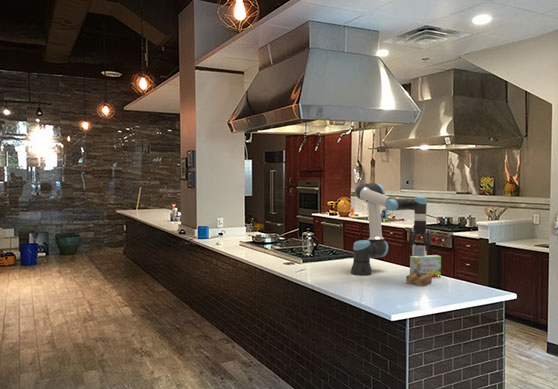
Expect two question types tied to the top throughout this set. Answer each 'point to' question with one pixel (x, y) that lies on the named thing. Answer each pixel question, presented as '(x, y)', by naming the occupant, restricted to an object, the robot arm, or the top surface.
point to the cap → (419, 251)
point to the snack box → (426, 265)
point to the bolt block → (419, 277)
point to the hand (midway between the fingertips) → (419, 255)
